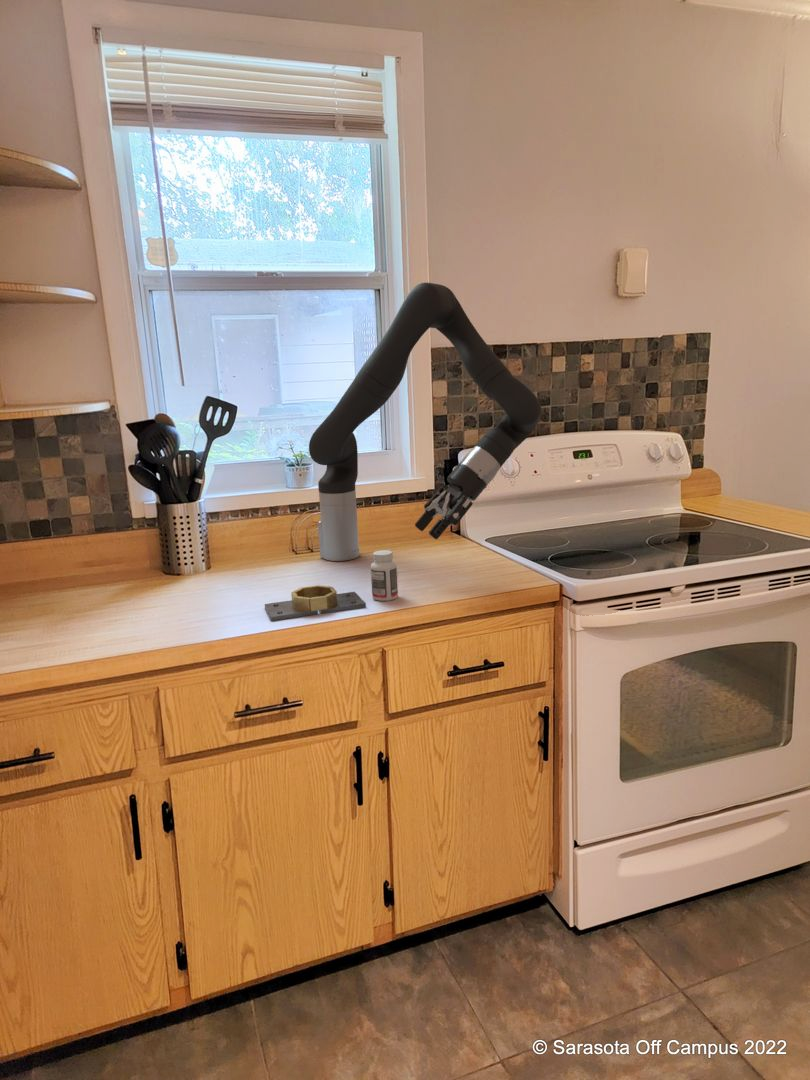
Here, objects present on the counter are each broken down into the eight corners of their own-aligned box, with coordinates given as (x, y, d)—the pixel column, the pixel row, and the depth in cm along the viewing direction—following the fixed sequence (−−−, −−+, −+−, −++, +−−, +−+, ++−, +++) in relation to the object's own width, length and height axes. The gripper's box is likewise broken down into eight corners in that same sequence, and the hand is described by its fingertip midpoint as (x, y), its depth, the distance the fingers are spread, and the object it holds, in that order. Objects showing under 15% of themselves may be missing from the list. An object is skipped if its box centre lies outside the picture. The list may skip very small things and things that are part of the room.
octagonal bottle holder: (271, 621, 140) (269, 604, 139) (264, 607, 148) (263, 592, 147) (365, 607, 146) (365, 591, 145) (354, 595, 154) (353, 580, 153)
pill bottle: (391, 592, 155) (389, 547, 152) (402, 598, 150) (400, 553, 148) (368, 596, 152) (365, 551, 150) (378, 603, 148) (376, 557, 145)
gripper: (449, 458, 157) (401, 515, 156) (476, 465, 144) (424, 527, 143) (472, 480, 160) (425, 536, 159) (500, 489, 147) (450, 550, 146)
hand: (425, 532), depth 151 cm, fingers open, 8 cm apart
